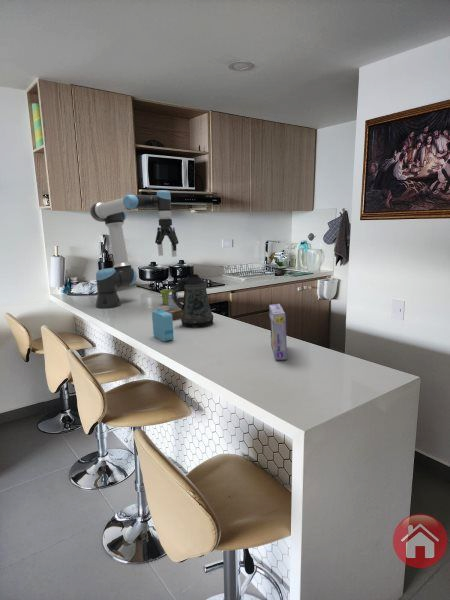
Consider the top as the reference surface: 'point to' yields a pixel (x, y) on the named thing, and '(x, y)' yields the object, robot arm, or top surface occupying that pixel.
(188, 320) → the beer stein
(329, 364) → the top surface
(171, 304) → the medicine box
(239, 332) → the top surface
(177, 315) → the walnut block
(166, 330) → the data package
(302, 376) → the top surface
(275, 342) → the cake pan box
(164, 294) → the plant pot
